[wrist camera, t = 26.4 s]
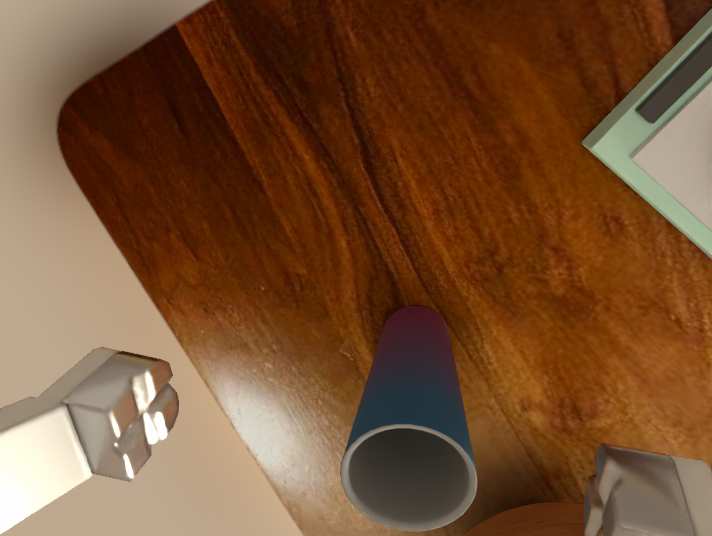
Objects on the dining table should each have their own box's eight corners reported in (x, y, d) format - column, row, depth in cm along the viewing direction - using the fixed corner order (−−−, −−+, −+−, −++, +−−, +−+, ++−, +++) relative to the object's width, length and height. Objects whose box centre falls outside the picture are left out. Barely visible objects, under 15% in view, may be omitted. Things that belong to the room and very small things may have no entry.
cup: (363, 362, 42) (329, 513, 28) (380, 285, 39) (353, 409, 25) (448, 382, 41) (457, 545, 27) (471, 305, 39) (494, 443, 25)
